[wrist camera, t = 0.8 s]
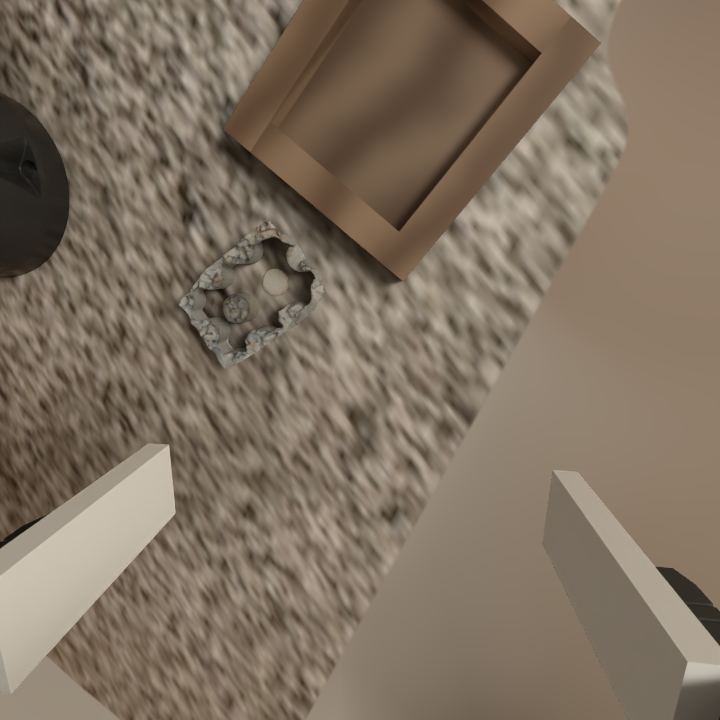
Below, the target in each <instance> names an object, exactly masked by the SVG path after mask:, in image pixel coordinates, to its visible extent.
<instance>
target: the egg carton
mask: <svg viewBox="0 0 720 720" xmlns="http://www.w3.org/2000/svg"><path fill="white" fill-rule="evenodd" d="M272 237H276V238H278V239H280V240H281V241H282V242H284V243H287V244H289V245H290V246H289V247H288V249H287V253H286V259H287V262H288V265H289V266H290V267H291V268H292V269H293V270H295V271H298V272H309V271H311V272H312V273H313V274H314V276H315V279H314V280H313V283H312V284H311V301H310V303H309V304H308V303H306V302H303V301H298V302H294V303H290V304H287V305H286V306H285V307H284V308H283V309H282V310H280V311H279V312H278V314H279V315H278V321H279V322H280V323H281V325H282V328H277V327H275V326H272V325H267V326H265V327H262V328H259V329H256V330H253V331H251V332H250V333H249V334H248V335H247V337H246V339H245V342H246V345H247V346H246V349H245V348H237V349H233V348H232V347H231V346H230V344H229V343H228V338H229V336H230V326H229V324H228V322H227V321H230V322H233V323H235V324H237V323H243V322H246V321H249V320H252V319H253V318H255V317H256V316H257V314H258V310H259V304H258V301H257V299H256V298H255V297H254V296H252V295H251V294H247V293H244V294H232V295H231V296H229V297H228V298H226V299H225V301H224V302H223V312H224V315H225V317H226V319H227V321H226V320H225V319H223V318H221V317H213V318H208V317H207V316H206V315H205V314H204V312H203V311H202V310H203V308H204V306H205V303H206V296H205V294H204V290H205V289H207V290H216V289H224V288H226V287H229V286H230V285H231V284H232V282H233V280H234V272H233V269H232V268H233V267H234V266H235V265H236V264H253V263H256V262H258V261H259V260H260V259H261V257H262V255H263V252H264V250H263V244H262V241H263V240H265V239H268V238H272ZM305 259H306V258H305V256H304V254H303V253H302V251H301V249H300V248H299V246H298V245H297V244H296V243H295V241H294V240H293V239H292V237H291V236H289V235H285V234H280V233H279V231H278V230H277V229H276V228H275V227H274V225H273V224H272V223H271V222H270V221H268V222H264V223H263V224H261V225H260V226H259V227H257V228H255V229H254V230H253V231H251V233H249V234H248V235H247V236H245V237H244V238H243V239H242V240H241V241H240V242H238V243H237V245H236V246H235V247H234V248H233V249H231V250H230V251H228V252H227V253H225V254H224V255H223V256H222V258H220V259H219V260H218V261H216V262H215V263H214V264H213V265H211V266H210V267H209V268H207V269H206V270H205V271H204V272H203V274H202V275H201V276H200V277H199V279H198V280H197V281H196V283H195V284H194V285H193V287H192V288H191V290H190V292H189V293H188V294H187V295H185V296H184V297H183V298H182V299H181V300H180V302H179V306H180V307H181V308H182V309H184V310H185V311H186V312H187V314H188V315H189V317H190V322H191V324H192V325H193V326H195V327H196V329H197V330H198V331H199V333H200V336H201V337H202V338H203V339H204V341H205V343H206V344H207V346H208V348H209V349H210V350H212V351H213V352H214V353H215V354H216V356H217V359H218V361H219V362H220V363H221V365H222V366H223V368H224V369H225V368H229V367H231V366H233V365H235V364H237V363H239V362H241V361H242V360H244V359H246V358H248V357H249V356H251V355H252V354H254V353H255V352H256V351H258V350H260V349H262V348H263V347H264V346H265V345H266V344H268V343H270V342H272V341H273V340H275V339H276V338H277V337H279V336H280V335H282V334H283V333H285V332H286V331H288V330H289V329H291V328H292V327H294V326H296V325H297V324H298V323H299V322H301V321H302V320H303V319H304V318H306V317H307V316H308V315H309V314H310V313H311V312H312V311H313V310H314V309H315V307H316V306H317V304H318V302H319V301H320V298H321V297H322V295H323V294H324V292H325V290H324V288H323V286H322V285H321V284H320V282H321V280H322V278H321V276H320V275H319V274H318V272H317V270H315V269H314V270H312V269H310V268H309V267H308V266H306V265H305V264H304V261H305ZM288 285H289V280H288V277H287V275H286V274H285V273H284V272H283V271H281V270H279V269H271V270H269V271H267V273H265V275H264V277H263V287H264V289H265V291H266V292H267V293H268V294H270V295H272V296H279V295H282V294H284V293H285V292H286V290H287V289H288Z"/></svg>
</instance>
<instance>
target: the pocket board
mask: <svg viewBox="0 0 720 720" xmlns="http://www.w3.org/2000/svg"><path fill="white" fill-rule="evenodd" d="M600 44H601V43H600V42H599V41H598V40H597V39H596V38H595V37H594V36H592V35H591V34H590V33H589V32H588V31H587V30H586V29H585V28H584V27H582V26H581V25H580V24H579V23H578V22H577V21H576V20H575V19H574V18H572V17H571V16H570V15H569V14H568V13H567V12H566V11H565V10H564V9H562V8H561V7H560V6H559V5H558V4H557V3H556V2H555V1H554V0H303V2H302V3H301V5H300V7H299V8H298V10H297V11H296V13H295V15H294V16H293V18H292V19H291V21H290V23H289V24H288V26H287V27H286V29H285V31H284V32H283V34H282V35H281V37H280V39H279V40H278V42H277V43H276V45H275V47H274V48H273V50H272V51H271V53H270V55H269V56H268V58H267V59H266V61H265V63H264V64H263V66H262V68H261V69H260V71H259V72H258V74H257V76H256V77H255V79H254V80H253V82H252V84H251V85H250V87H249V88H248V90H247V92H246V93H245V95H244V96H243V98H242V100H241V101H240V103H239V104H238V106H237V108H236V109H235V111H234V112H233V114H232V116H231V117H230V119H229V120H228V122H227V124H226V125H225V127H224V128H223V130H225V131H226V132H227V133H228V134H229V135H231V136H232V137H233V138H234V139H235V140H236V141H238V142H239V143H240V144H241V145H242V146H244V147H245V148H246V149H247V150H248V151H249V152H251V153H252V154H253V155H254V156H255V157H257V158H258V159H259V160H260V161H261V162H262V163H264V164H265V165H266V166H267V167H268V168H270V169H271V170H272V171H273V172H274V173H275V174H277V175H278V176H279V177H280V178H281V179H283V180H284V181H285V182H286V183H287V184H288V185H290V186H291V187H292V188H293V189H294V190H296V191H297V192H298V193H299V194H300V195H301V196H303V197H304V198H305V199H306V200H307V201H309V202H310V203H311V204H312V205H313V206H314V207H316V208H317V209H318V210H319V211H320V212H322V213H323V214H324V215H325V216H326V217H327V218H329V219H330V220H331V221H332V222H333V223H335V224H336V225H337V226H338V227H339V228H340V229H342V230H343V231H344V232H345V233H346V234H348V235H349V236H350V237H351V238H352V239H353V240H355V241H356V242H357V243H358V244H359V245H361V246H362V247H363V248H364V249H365V250H366V251H368V252H369V253H370V254H371V255H372V256H374V257H375V258H376V259H377V260H378V261H379V262H381V263H382V264H383V265H384V266H385V267H387V268H388V269H389V270H390V271H391V272H392V273H394V274H395V275H396V276H397V277H398V278H400V279H401V280H402V281H404V280H405V279H406V277H407V276H408V275H409V274H410V272H411V271H412V270H413V269H414V268H415V266H416V265H417V264H418V263H419V262H420V260H421V259H422V258H423V257H424V256H425V254H426V253H427V252H428V251H429V250H430V248H431V247H432V246H433V245H434V244H435V242H436V241H437V240H438V239H439V238H440V236H441V235H442V234H443V233H444V232H445V230H446V229H447V228H448V227H449V226H450V224H451V223H452V222H453V221H454V220H455V218H456V217H457V216H458V215H459V214H460V212H461V211H462V210H463V209H464V208H465V206H466V205H467V204H468V203H469V201H470V200H471V199H472V198H473V197H474V195H475V194H476V193H477V192H478V191H479V189H480V188H481V187H482V186H483V185H484V183H485V182H486V181H487V180H488V179H489V177H490V176H491V175H492V174H493V173H494V171H495V170H496V169H497V168H498V167H499V165H500V164H501V163H502V162H503V161H504V159H505V158H506V157H507V156H508V155H509V153H510V152H511V151H512V150H513V149H514V147H515V146H516V145H517V144H518V143H519V141H520V140H521V139H522V138H523V137H524V135H525V134H526V133H527V132H528V131H529V129H530V128H531V127H532V126H533V124H534V123H535V122H536V121H537V120H538V118H539V117H540V116H541V115H542V114H543V112H544V111H545V110H546V109H547V108H548V106H549V105H550V104H551V103H552V102H553V100H554V99H555V98H556V97H557V96H558V94H559V93H560V92H561V91H562V90H563V88H564V87H565V86H566V85H567V84H568V82H569V81H570V80H571V79H572V78H573V76H574V75H575V74H576V73H577V72H578V70H579V69H580V68H581V67H582V66H583V64H584V63H585V62H586V61H587V60H588V58H589V57H590V56H591V55H592V53H593V52H594V51H595V50H596V49H597V47H598V46H599V45H600Z"/></svg>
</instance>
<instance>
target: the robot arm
mask: <svg viewBox="0 0 720 720" xmlns="http://www.w3.org/2000/svg"><path fill="white" fill-rule="evenodd" d="M68 212H69V189H68V182H67V176H66V172H65V168H64V165H63V162H62V159H61V157H60V154H59V152H58V150H57V148H56V146H55V144H54V142H53V140H52V138H51V137H50V135H49V134H48V132H47V131H46V129H45V128H44V127H43V125H42V124H41V123H40V122H39V121H38V119H37V118H36V117H35V116H34V115H33V114H32V113H31V112H29V111H28V110H27V109H26V108H25V107H23V106H22V105H21V104H19V103H18V102H16V101H15V100H13V99H11V98H10V97H8V96H6V95H3V94H1V93H0V277H7V276H16V275H21V274H24V273H27V272H29V271H31V270H33V269H35V268H37V267H38V266H40V265H41V264H42V263H44V262H45V261H46V260H47V259H48V258H49V257H50V256H51V254H52V253H53V252H54V250H55V249H56V247H57V246H58V244H59V242H60V240H61V238H62V236H63V233H64V230H65V227H66V223H67V219H68ZM175 513H176V511H175V501H174V491H173V481H172V471H171V460H170V450H169V445H166V444H151V443H148V444H147V445H146V446H144V447H143V448H141V449H140V450H139V451H137V452H136V453H134V454H133V455H132V456H130V457H129V458H127V459H126V460H125V461H123V462H122V463H120V464H119V465H117V466H116V467H115V468H113V469H112V470H110V471H109V472H108V473H106V474H105V475H103V476H102V477H101V478H99V479H98V480H96V481H95V482H94V483H92V484H91V485H89V486H88V487H86V488H85V489H84V490H82V491H81V492H79V493H78V494H77V495H75V496H74V497H72V498H71V499H70V500H68V501H67V502H65V503H64V504H63V505H61V506H60V507H58V508H57V509H55V510H54V511H53V512H51V513H50V514H48V515H45V516H43V517H41V518H39V519H37V520H35V521H32V522H30V523H28V524H26V525H24V526H22V527H21V528H19V529H18V530H16V531H15V532H13V533H12V534H11V535H9V536H8V537H6V538H5V539H4V541H3V542H0V693H6V694H11V693H12V692H13V691H14V690H15V689H16V688H17V687H18V686H19V685H20V684H21V682H22V681H23V680H24V679H25V678H26V677H27V676H28V675H29V674H30V673H31V672H32V670H33V669H34V668H35V667H36V666H37V665H38V664H39V663H40V662H41V661H42V659H43V658H44V657H45V656H46V655H47V654H48V653H49V652H50V651H51V650H52V648H53V647H54V646H55V645H56V644H57V643H58V642H59V641H60V640H61V639H62V637H63V636H64V635H65V634H66V633H67V632H68V631H69V630H70V629H71V628H72V627H73V625H74V624H75V623H76V622H77V621H78V620H79V619H80V618H81V617H82V616H83V614H84V613H85V612H86V611H87V610H88V609H89V608H90V607H91V606H92V605H93V603H94V602H95V601H96V600H97V599H98V598H99V597H100V596H101V595H102V594H103V592H104V591H105V590H106V589H107V588H108V587H109V586H110V585H111V584H112V583H113V582H114V580H115V579H116V578H117V577H118V576H119V575H120V574H121V573H122V572H123V571H124V569H125V568H126V567H127V566H128V565H129V564H130V563H131V562H132V561H133V560H134V558H135V557H136V556H137V555H138V554H139V553H140V552H141V551H142V550H143V549H144V547H145V546H146V545H147V544H148V543H149V542H150V541H151V540H152V539H153V538H154V537H155V535H156V534H157V533H158V532H159V531H160V530H161V529H162V528H163V527H164V526H165V524H166V523H167V522H168V521H169V520H170V519H171V518H172V517H173V516H174V515H175ZM543 546H544V548H545V550H546V552H547V554H548V556H549V558H550V560H551V563H552V565H553V567H554V569H555V571H556V573H557V575H558V577H559V579H560V581H561V583H562V585H563V587H564V589H565V592H566V594H567V596H568V598H569V600H570V602H571V604H572V606H573V608H574V610H575V612H576V614H577V616H578V618H579V620H580V623H581V625H582V627H583V629H584V631H585V633H586V635H587V637H588V639H589V641H590V643H591V645H592V647H593V649H594V651H595V653H596V656H597V658H598V660H599V662H600V664H601V666H602V668H603V670H604V672H605V674H606V676H607V678H608V680H609V682H610V685H611V686H612V689H613V691H614V693H615V695H616V697H617V699H618V701H619V703H620V705H621V707H622V709H623V711H624V713H625V716H626V718H627V720H720V611H719V610H718V609H717V608H715V607H713V604H712V602H711V601H710V600H709V599H708V598H707V597H706V596H705V595H704V593H703V592H702V591H701V590H700V589H699V588H698V587H697V586H696V585H695V584H694V583H693V582H691V581H690V580H688V579H687V578H686V577H684V576H683V575H681V574H680V573H679V572H677V571H676V570H674V569H673V568H664V567H655V566H654V565H653V564H652V562H651V561H650V560H649V559H648V558H647V556H646V555H645V554H644V553H643V552H642V550H641V549H640V548H639V547H638V545H637V544H636V543H635V542H634V540H633V539H632V538H631V537H630V535H629V534H628V533H627V532H626V531H625V530H624V528H623V527H622V526H621V525H620V523H619V522H618V521H617V520H616V518H615V517H614V516H613V515H612V513H611V512H610V511H609V510H608V509H607V507H606V506H605V505H604V504H603V502H602V501H601V500H600V499H599V498H598V496H597V495H596V494H595V493H594V491H593V490H592V489H591V488H590V486H589V485H588V484H587V483H586V482H585V480H584V479H583V478H582V477H581V475H580V474H579V473H578V472H574V471H560V470H553V472H552V479H551V486H550V493H549V500H548V507H547V514H546V522H545V529H544V536H543Z"/></svg>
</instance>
